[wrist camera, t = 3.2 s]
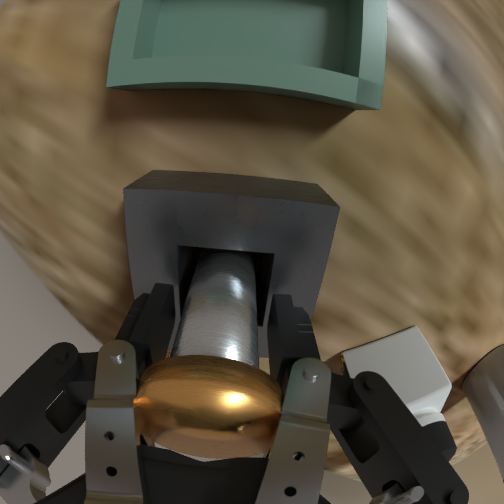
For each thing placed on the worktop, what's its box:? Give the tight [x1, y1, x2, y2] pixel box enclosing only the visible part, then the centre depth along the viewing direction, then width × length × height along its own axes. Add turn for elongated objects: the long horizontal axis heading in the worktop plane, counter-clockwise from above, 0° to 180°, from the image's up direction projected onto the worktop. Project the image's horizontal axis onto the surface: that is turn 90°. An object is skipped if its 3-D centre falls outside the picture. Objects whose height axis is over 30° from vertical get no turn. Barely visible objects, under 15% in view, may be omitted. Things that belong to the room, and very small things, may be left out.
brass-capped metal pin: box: [136, 247, 284, 459], centre depth 11 cm, size 4×4×11 cm
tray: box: [106, 0, 387, 110], centre depth 9 cm, size 12×8×3 cm, turn 84°
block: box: [123, 170, 340, 358], centre depth 15 cm, size 9×9×4 cm
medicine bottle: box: [341, 326, 457, 462], centre depth 16 cm, size 7×7×12 cm
